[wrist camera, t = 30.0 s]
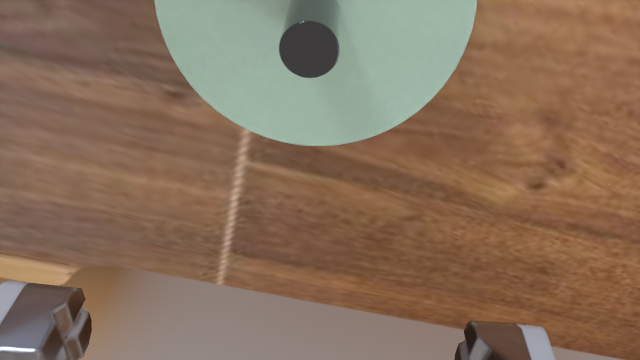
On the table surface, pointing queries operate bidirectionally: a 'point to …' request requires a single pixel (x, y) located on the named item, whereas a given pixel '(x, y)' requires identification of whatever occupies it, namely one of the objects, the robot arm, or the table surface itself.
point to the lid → (316, 61)
